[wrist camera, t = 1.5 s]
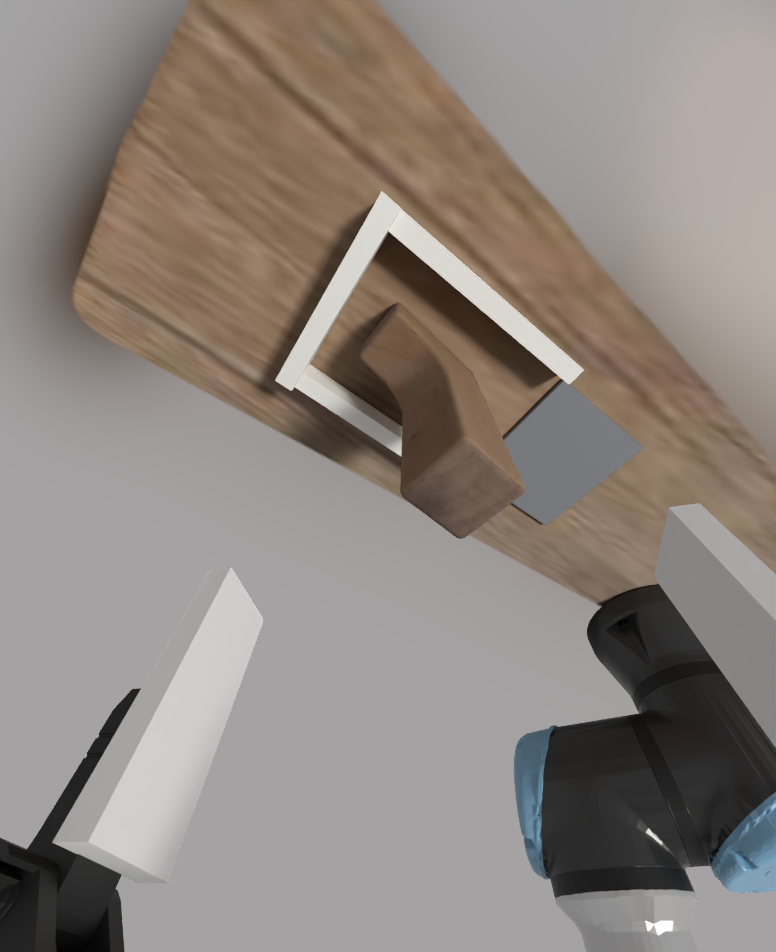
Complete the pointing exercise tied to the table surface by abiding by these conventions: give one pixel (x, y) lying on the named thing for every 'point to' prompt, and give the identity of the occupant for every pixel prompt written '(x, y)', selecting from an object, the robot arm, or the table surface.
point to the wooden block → (442, 427)
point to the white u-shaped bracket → (344, 282)
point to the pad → (565, 451)
